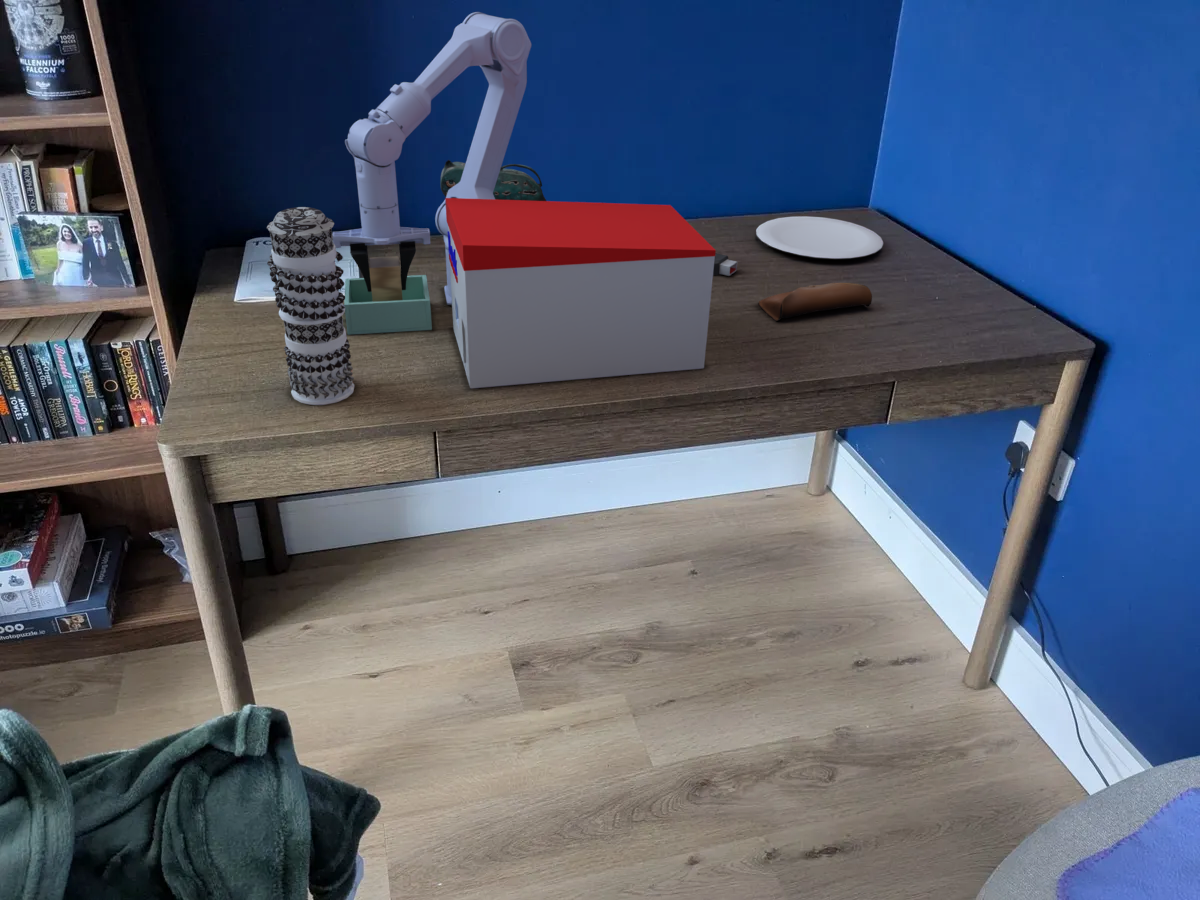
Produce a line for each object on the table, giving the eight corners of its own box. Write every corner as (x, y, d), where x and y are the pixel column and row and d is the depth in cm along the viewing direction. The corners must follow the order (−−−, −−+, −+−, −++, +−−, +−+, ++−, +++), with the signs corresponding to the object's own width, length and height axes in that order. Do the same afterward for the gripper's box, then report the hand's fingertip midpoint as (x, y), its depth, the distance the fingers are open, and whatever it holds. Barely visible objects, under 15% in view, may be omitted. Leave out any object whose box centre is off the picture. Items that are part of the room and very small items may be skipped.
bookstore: (450, 328, 151) (443, 197, 140) (662, 313, 158) (671, 188, 147) (467, 389, 133) (460, 245, 123) (704, 368, 141) (717, 231, 130)
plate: (880, 230, 199) (882, 222, 198) (883, 271, 178) (885, 263, 177) (760, 218, 203) (761, 210, 202) (749, 257, 182) (750, 249, 182)
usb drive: (680, 257, 182) (682, 243, 180) (738, 270, 176) (740, 256, 175) (668, 264, 178) (669, 250, 176) (726, 278, 173) (728, 264, 171)
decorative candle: (302, 372, 136) (276, 199, 123) (366, 377, 136) (346, 204, 123) (277, 403, 128) (247, 222, 115) (344, 408, 128) (321, 226, 115)
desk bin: (428, 303, 159) (426, 274, 157) (432, 329, 150) (429, 300, 147) (348, 307, 157) (345, 278, 154) (347, 334, 148) (344, 304, 145)
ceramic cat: (445, 261, 176) (439, 151, 166) (442, 249, 182) (435, 141, 171) (551, 255, 180) (551, 147, 170) (544, 243, 186) (544, 138, 175)
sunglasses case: (842, 288, 169) (859, 264, 163) (859, 320, 166) (877, 297, 160) (754, 302, 162) (768, 277, 157) (770, 335, 159) (785, 311, 154)
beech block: (401, 291, 154) (399, 256, 151) (402, 302, 150) (399, 266, 147) (372, 293, 153) (369, 257, 150) (372, 304, 149) (369, 267, 146)
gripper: (328, 213, 139) (338, 300, 146) (429, 210, 142) (434, 295, 149) (329, 199, 145) (339, 283, 152) (426, 196, 148) (431, 279, 155)
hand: (386, 288), depth 151 cm, fingers closed on beech block, 4 cm apart
